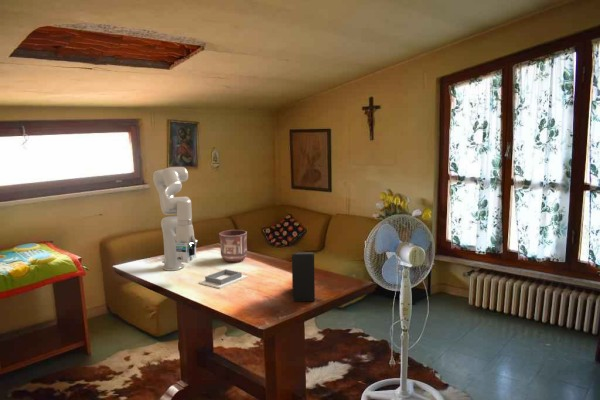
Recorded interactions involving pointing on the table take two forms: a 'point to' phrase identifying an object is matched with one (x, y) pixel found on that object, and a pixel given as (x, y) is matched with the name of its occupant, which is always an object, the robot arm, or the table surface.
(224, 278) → the dock board
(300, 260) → the bookend
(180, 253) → the light bulb box
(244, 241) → the pottery
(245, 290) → the table surface
